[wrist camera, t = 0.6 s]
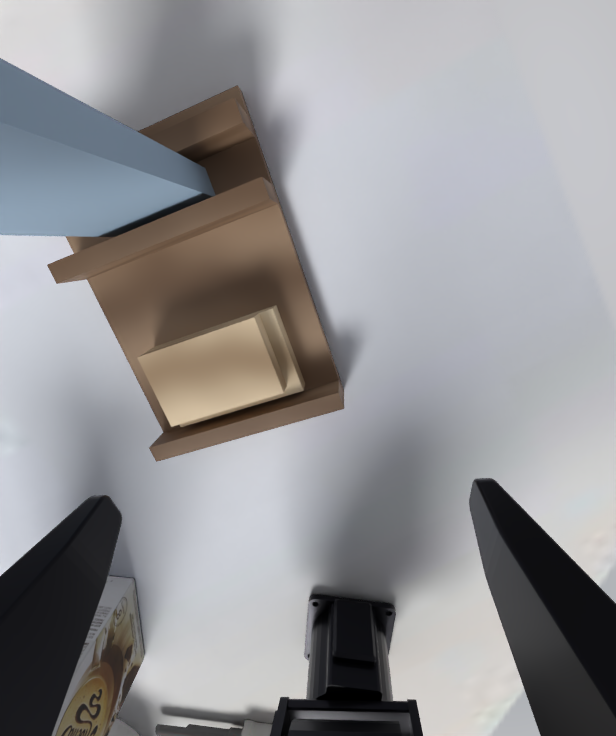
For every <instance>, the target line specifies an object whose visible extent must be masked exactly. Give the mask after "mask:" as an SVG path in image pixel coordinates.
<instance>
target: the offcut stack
mask: <svg viewBox="0 0 616 736" xmlns="http://www.w3.org/2000/svg"><path fill="white" fill-rule="evenodd" d="M137 358H138V360H139V362H140V364H141V366H142V368H143V371H144V373H145V375H146V377H147V379H148V381H149V383H150V385H151V387H152V389H153V391H154V393H155V395H156V397H157V399H158V401H159V403H160V405H161V407H162V409H163V411H164V413H165V415H166V417H167V419H168V421H169V423H170V425H171V427H173V426H176V425H180V427H184V426H187V425H190V424H194V423H197V422H200V421H204V420H207V419H210V418H214V417H217V416H221V415H224V414H227V413H231V412H234V411H237V410H241V409H244V408H247V407H251V406H254V405H258V404H261V403H264V402H268V401H271V400H274V399H278V398H281V397H284V396H288V395H291V394H294V393H298V392H301V391H303V390H304V387H305V382H304V379H303V376H302V373H301V371H300V368H299V365H298V363H297V360H296V357H295V355H294V352H293V349H292V346H291V344H290V341H289V338H288V336H287V333H286V330H285V328H284V325H283V322H282V319H281V317H280V314H279V311H278V309H277V306H276V305H275V306H272V307H269V308H266V309H263V310H260V311H258V312H255V313H252V314H249V315H246V316H243V317H240V318H237V319H234V320H231V321H229V322H226V323H223V324H220V325H217V326H214V327H211V328H208V329H205V330H202V331H200V332H197V333H194V334H191V335H188V336H185V337H182V338H179V339H176V340H173V341H170V342H168V343H165V344H162V345H159V346H156V347H153V348H152V349H150V350H148V351H146V352H145V353H144V354H142V355H140V356H139V357H137Z"/></svg>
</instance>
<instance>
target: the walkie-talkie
mask: <svg viewBox="0 0 616 736" xmlns="http://www.w3.org/2000/svg"><path fill="white" fill-rule="evenodd" d="M271 729H272V724H267V723H259V722H255V721H253V720H245V722H244V727H243V729H240V728H232V727H231V728H230V729H223V728H215V727H207V726H200V725H192V724H189V725H188V726H187V727H186V728H185V727H177V726H168V725H160V724H157V726H156V734H157V735H158V736H270V733H271Z"/></svg>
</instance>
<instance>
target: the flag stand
mask: <svg viewBox="0 0 616 736" xmlns="http://www.w3.org/2000/svg"><path fill="white" fill-rule="evenodd" d="M108 736H140V735H139V734H138V733H137V732H136V731H135V730H134V729H133V728H131V727H130V726H129V725H127V724H126V723H124V722H123V721H121V720H119V719H117V718H116V719H115V721H114V723H113V725H112V728H111V730H110V732H109V734H108Z"/></svg>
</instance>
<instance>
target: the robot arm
mask: <svg viewBox="0 0 616 736" xmlns="http://www.w3.org/2000/svg"><path fill="white" fill-rule="evenodd" d="M469 505H470V511H471V516H472V520H473V524H474V529H475V533H476V537H477V542H478V546H479V550H480V555H481V559H482V564H483V568H484V572H485V576H486V579H487V582H488V585H489V588H490V591H491V594H492V597H493V600H494V603H495V606H496V608H497V611H498V614H499V617H500V620H501V623H502V626H503V629H504V631H505V634H506V637H507V640H508V643H509V646H510V649H511V652H512V654H513V657H514V660H515V663H516V666H517V669H518V672H519V675H520V677H521V680H522V683H523V686H524V689H525V692H526V695H527V698H528V700H529V703H530V706H531V709H532V712H533V715H534V718H535V721H536V723H537V726H538V729H539V732H540V735H541V736H616V603H615V602H614V601H613V600H612V599H611V598H610V597H609V596H608V595H607V594H606V593H605V592H604V591H603V590H602V589H601V588H600V587H599V586H598V585H597V584H596V583H595V582H594V581H593V580H592V579H591V578H590V577H589V576H588V575H587V574H586V573H585V572H584V571H583V570H582V569H581V568H580V567H579V566H578V565H577V564H576V562H575V561H574V560H573V559H572V558H571V557H570V556H569V555H568V554H567V553H566V552H565V551H564V550H563V549H562V548H561V547H560V546H559V545H558V544H557V543H556V542H555V541H554V540H553V539H552V538H551V537H550V536H549V535H548V534H547V533H546V532H545V531H544V530H543V529H542V528H541V527H540V526H539V525H538V524H537V523H536V522H535V521H534V520H533V519H532V518H531V517H530V516H529V515H528V514H527V512H526V511H525V510H524V509H523V508H522V507H521V506H520V505H519V504H518V503H517V502H516V501H515V500H514V499H513V498H512V497H511V496H510V495H509V494H508V493H507V492H506V491H505V490H504V489H503V488H502V487H501V486H500V485H499V484H498V483H497V482H496V481H495V480H493V479H491V478H482V479H475V480H474V481H473V484H472V489H471V494H470V500H469ZM121 522H122V515H121V513H120V511H119V510H118V508H117V507H116V505H115V504H114V503H113V501H112V500H111V498H110V497H109V496H106V495H100V496H92V497H90V498H88V499H87V500H86V501H84V502H83V503H82V504H81V505H80V506H79V507H78V508H77V509H75V510H74V511H73V512H72V513H71V514H70V515H69V516H68V517H66V518H65V519H64V520H63V521H62V522H61V523H60V524H59V525H57V526H56V527H55V528H54V529H53V530H52V531H51V532H50V533H48V534H47V535H46V536H45V537H44V538H43V539H42V540H41V541H39V542H38V543H37V544H36V545H35V546H34V547H33V548H31V549H30V550H29V551H28V552H27V553H26V554H25V555H24V556H22V557H21V558H20V559H19V560H18V561H17V562H16V563H15V564H13V565H12V566H11V567H10V568H9V569H8V570H7V571H6V572H4V573H3V574H2V575H1V576H0V736H52V734H53V731H54V728H55V725H56V722H57V720H58V717H59V714H60V711H61V708H62V706H63V703H64V700H65V697H66V694H67V692H68V689H69V686H70V683H71V680H72V677H73V675H74V672H75V669H76V666H77V663H78V661H79V658H80V655H81V652H82V649H83V647H84V644H85V641H86V638H87V635H88V633H89V630H90V627H91V624H92V621H93V619H94V616H95V613H96V610H97V607H98V605H99V602H100V599H101V596H102V593H103V590H104V587H105V584H106V581H107V578H108V574H109V570H110V566H111V562H112V558H113V554H114V550H115V547H116V543H117V539H118V535H119V531H120V527H121ZM395 616H396V612H395V607H394V605H392V604H389V603H381V602H373V601H365V600H356V599H348V598H340V597H332V596H324V595H311V596H310V598H309V606H308V618H307V630H306V641H305V653H304V656H305V658H306V659H307V660H309V670H308V683H307V696H306V699H289V697H281V698H280V702H279V706H278V710H277V711H276V712H275V716H274V720H273V724H272V729H271V733H270V736H423V733H422V728H421V723H420V718H419V713H418V707H417V702H416V700H410V699H407V701H393V695H392V686H391V677H390V668H389V659H388V654H389V648H390V643H391V637H392V632H393V626H394V621H395Z"/></svg>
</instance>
